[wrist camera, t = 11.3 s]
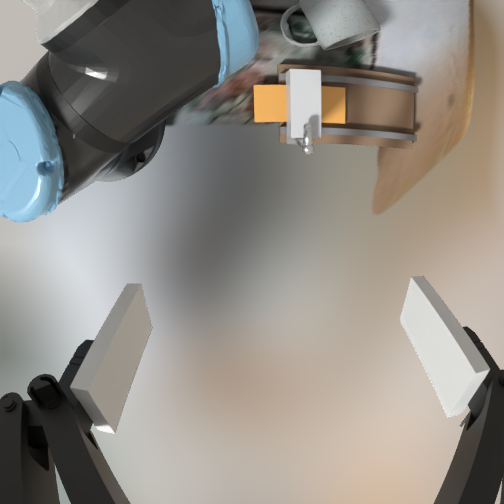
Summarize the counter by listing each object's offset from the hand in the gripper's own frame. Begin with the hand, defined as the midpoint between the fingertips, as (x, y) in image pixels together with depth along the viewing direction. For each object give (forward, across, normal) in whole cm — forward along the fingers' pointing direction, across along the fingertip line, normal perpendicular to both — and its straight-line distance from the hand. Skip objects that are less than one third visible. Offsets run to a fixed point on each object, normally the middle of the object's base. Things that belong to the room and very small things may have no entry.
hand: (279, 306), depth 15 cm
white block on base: (+27, +5, +9) cm, 29 cm away
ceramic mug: (+29, +8, +20) cm, 36 cm away
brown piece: (+29, +11, +9) cm, 32 cm away
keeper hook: (+27, +4, +6) cm, 28 cm away
